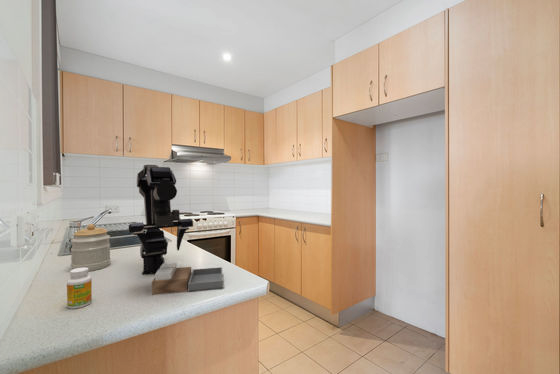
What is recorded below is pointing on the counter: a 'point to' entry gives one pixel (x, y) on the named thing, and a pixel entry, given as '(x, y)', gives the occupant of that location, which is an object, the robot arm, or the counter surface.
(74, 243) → the jar
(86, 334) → the counter surface
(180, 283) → the brown wooden block
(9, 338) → the counter surface
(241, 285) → the counter surface
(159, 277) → the tile
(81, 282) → the supplement bottle
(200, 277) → the tray
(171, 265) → the tile
